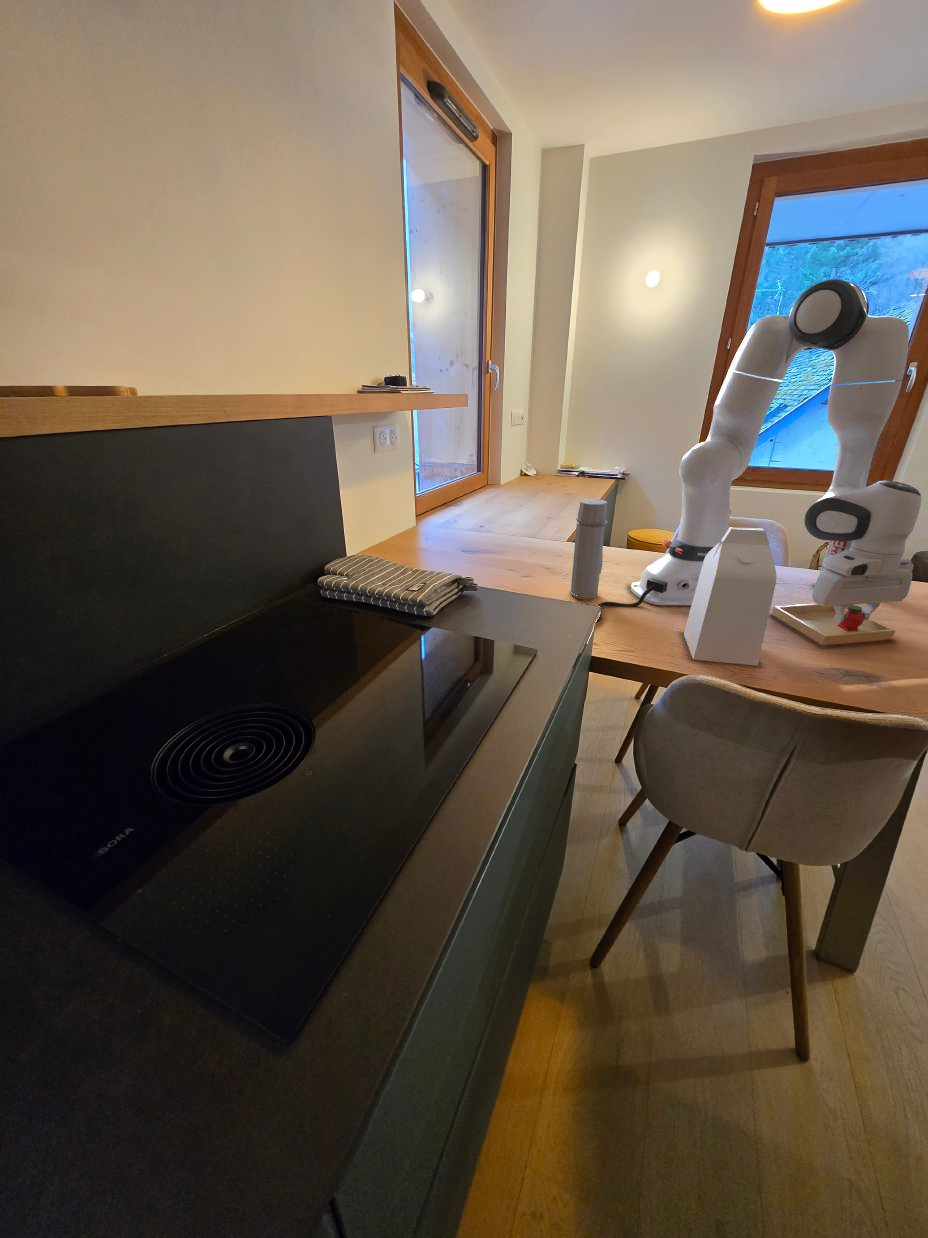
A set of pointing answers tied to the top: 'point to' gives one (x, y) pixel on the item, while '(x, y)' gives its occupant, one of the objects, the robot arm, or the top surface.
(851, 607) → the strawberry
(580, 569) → the water bottle
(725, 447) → the robot arm
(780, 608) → the tray
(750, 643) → the milk
